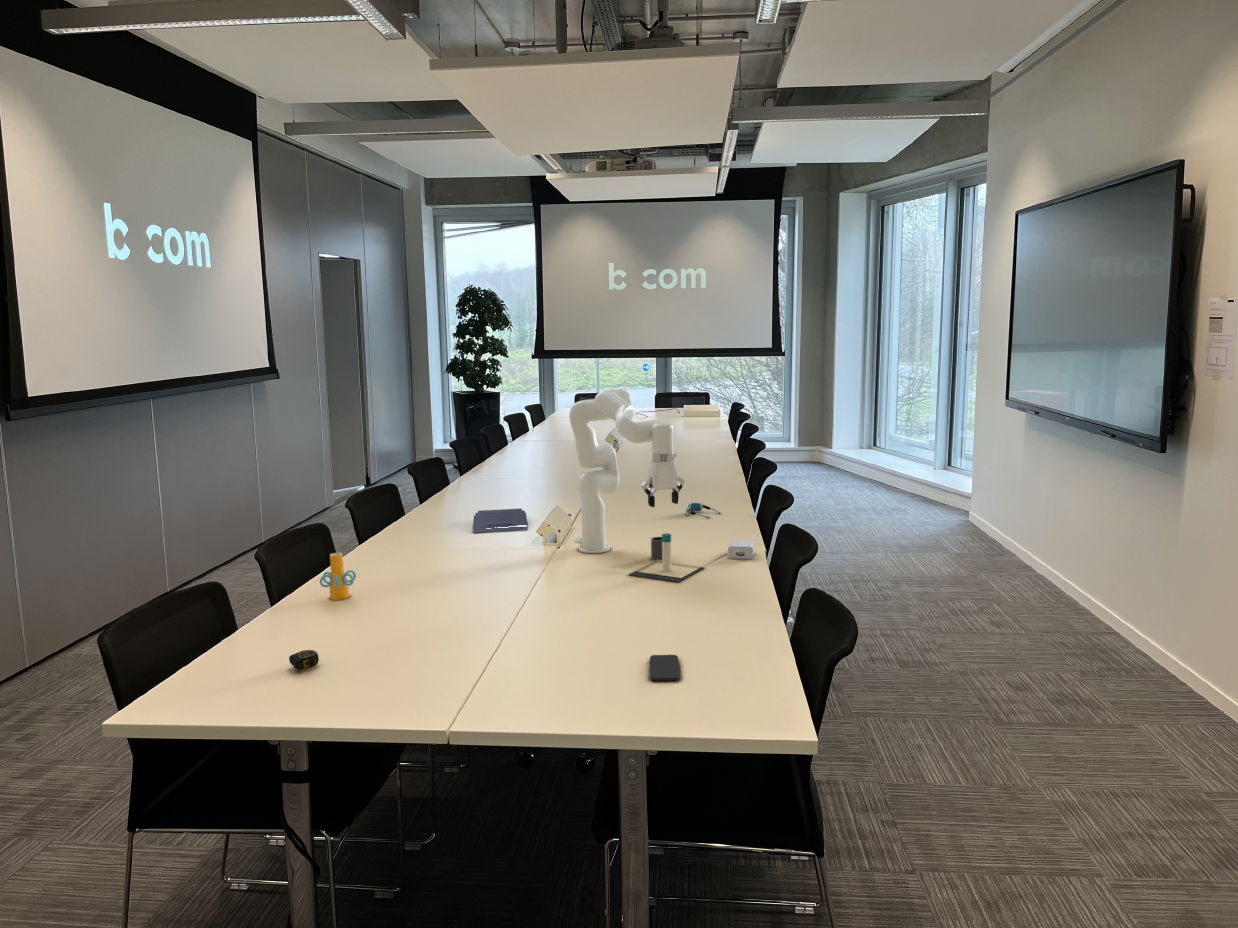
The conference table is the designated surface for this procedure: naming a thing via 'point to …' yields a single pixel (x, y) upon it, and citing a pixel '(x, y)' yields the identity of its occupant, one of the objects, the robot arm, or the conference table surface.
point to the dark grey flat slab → (499, 520)
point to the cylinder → (338, 578)
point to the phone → (664, 668)
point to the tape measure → (304, 659)
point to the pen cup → (656, 548)
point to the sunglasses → (697, 508)
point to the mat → (664, 578)
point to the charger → (741, 549)
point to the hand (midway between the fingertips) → (663, 504)
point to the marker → (666, 552)
